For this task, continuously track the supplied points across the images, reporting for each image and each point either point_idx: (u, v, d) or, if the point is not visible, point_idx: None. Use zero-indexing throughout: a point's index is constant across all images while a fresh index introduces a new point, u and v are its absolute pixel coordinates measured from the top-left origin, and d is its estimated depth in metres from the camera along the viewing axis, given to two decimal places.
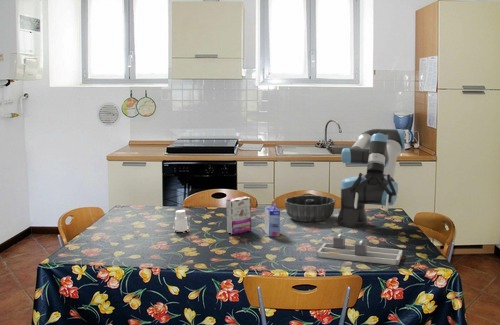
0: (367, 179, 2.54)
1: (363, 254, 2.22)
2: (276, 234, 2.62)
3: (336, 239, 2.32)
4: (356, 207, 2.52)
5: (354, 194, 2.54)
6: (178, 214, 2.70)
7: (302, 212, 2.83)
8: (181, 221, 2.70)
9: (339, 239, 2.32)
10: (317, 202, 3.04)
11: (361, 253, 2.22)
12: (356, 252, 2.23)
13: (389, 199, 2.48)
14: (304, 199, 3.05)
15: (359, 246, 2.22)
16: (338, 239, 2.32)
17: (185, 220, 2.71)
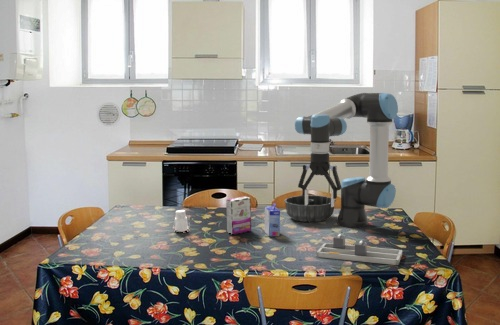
0: (312, 173, 2.32)
1: (363, 254, 2.22)
2: (276, 234, 2.62)
3: (336, 239, 2.32)
4: (307, 203, 2.37)
5: (303, 191, 2.36)
6: (178, 214, 2.70)
7: (302, 212, 2.83)
8: (181, 221, 2.70)
9: (339, 239, 2.32)
10: (317, 202, 3.04)
11: (361, 253, 2.22)
12: (356, 252, 2.23)
13: (334, 196, 2.31)
14: (304, 199, 3.05)
15: (359, 246, 2.22)
16: (338, 239, 2.32)
17: (185, 220, 2.71)
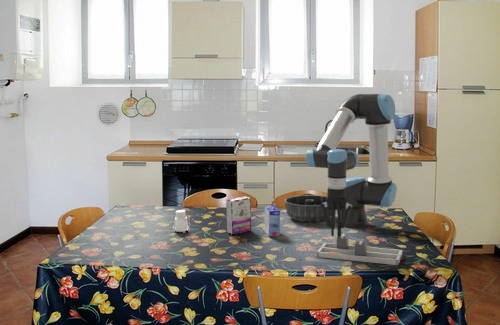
0: (332, 209, 2.31)
1: (363, 254, 2.22)
2: (276, 234, 2.62)
3: (340, 239, 2.32)
4: None
5: (332, 230, 2.34)
6: (178, 214, 2.70)
7: (302, 212, 2.83)
8: (181, 221, 2.70)
9: (343, 239, 2.31)
10: (317, 202, 3.04)
11: (361, 253, 2.22)
12: (356, 252, 2.23)
13: (338, 233, 2.33)
14: (304, 199, 3.05)
15: (359, 246, 2.22)
16: (342, 239, 2.31)
17: (185, 220, 2.71)
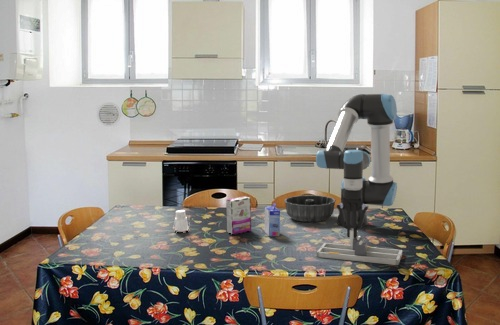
0: (348, 210, 2.29)
1: (363, 254, 2.22)
2: (276, 234, 2.62)
3: (356, 241, 2.29)
4: None
5: (348, 231, 2.31)
6: (178, 214, 2.70)
7: (302, 212, 2.83)
8: (181, 221, 2.70)
9: (359, 241, 2.29)
10: (317, 202, 3.04)
11: (361, 253, 2.22)
12: (356, 252, 2.23)
13: (354, 235, 2.31)
14: (304, 199, 3.05)
15: (359, 246, 2.22)
16: (358, 241, 2.29)
17: (185, 220, 2.71)
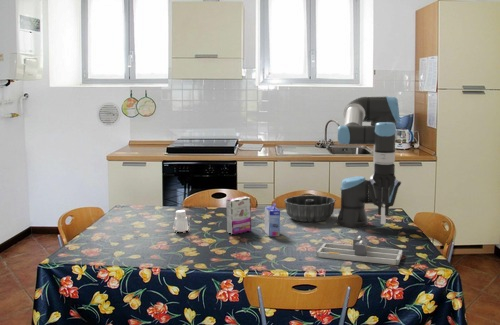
0: (380, 186, 2.16)
1: (363, 254, 2.22)
2: (276, 234, 2.62)
3: (356, 241, 2.29)
4: None
5: (379, 208, 2.19)
6: (178, 214, 2.70)
7: (302, 212, 2.83)
8: (181, 221, 2.70)
9: (359, 241, 2.29)
10: (317, 202, 3.04)
11: (361, 253, 2.22)
12: (356, 252, 2.23)
13: (386, 212, 2.18)
14: (304, 199, 3.05)
15: (359, 246, 2.22)
16: (358, 241, 2.29)
17: (185, 220, 2.71)
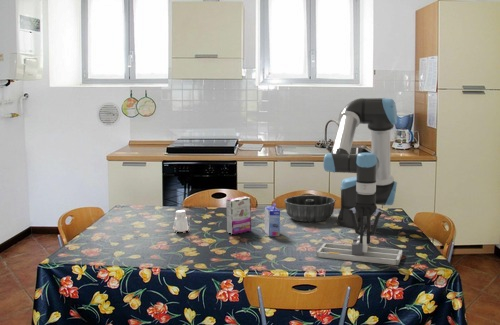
0: (361, 215, 2.21)
1: (360, 254, 2.23)
2: (276, 234, 2.62)
3: (356, 241, 2.29)
4: None
5: (361, 237, 2.23)
6: (178, 214, 2.70)
7: (302, 212, 2.82)
8: (181, 221, 2.70)
9: None
10: (317, 202, 3.04)
11: (358, 253, 2.23)
12: (353, 252, 2.23)
13: (367, 241, 2.22)
14: (304, 199, 3.05)
15: (356, 246, 2.23)
16: None
17: (185, 220, 2.71)
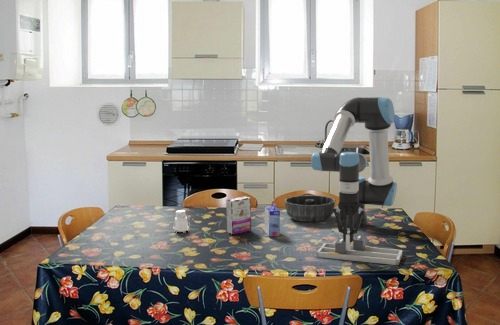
0: (344, 213, 2.23)
1: (343, 252, 2.25)
2: (276, 234, 2.62)
3: (356, 241, 2.29)
4: None
5: (344, 235, 2.25)
6: (178, 214, 2.70)
7: (302, 212, 2.82)
8: (181, 221, 2.70)
9: (359, 241, 2.29)
10: (317, 202, 3.04)
11: (342, 251, 2.25)
12: (337, 250, 2.26)
13: (351, 239, 2.25)
14: (304, 199, 3.05)
15: (339, 244, 2.25)
16: (358, 241, 2.29)
17: (185, 220, 2.71)
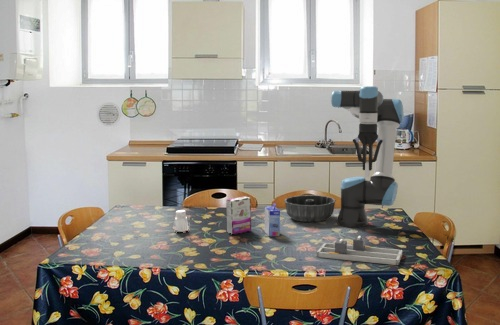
0: (364, 143, 2.41)
1: (343, 252, 2.25)
2: (276, 234, 2.62)
3: (356, 241, 2.29)
4: None
5: (363, 164, 2.43)
6: (178, 214, 2.70)
7: (302, 212, 2.82)
8: (181, 221, 2.70)
9: (359, 241, 2.29)
10: (317, 202, 3.04)
11: (341, 251, 2.25)
12: (336, 250, 2.26)
13: (369, 167, 2.43)
14: (304, 199, 3.05)
15: (339, 244, 2.25)
16: (358, 241, 2.29)
17: (185, 220, 2.71)
